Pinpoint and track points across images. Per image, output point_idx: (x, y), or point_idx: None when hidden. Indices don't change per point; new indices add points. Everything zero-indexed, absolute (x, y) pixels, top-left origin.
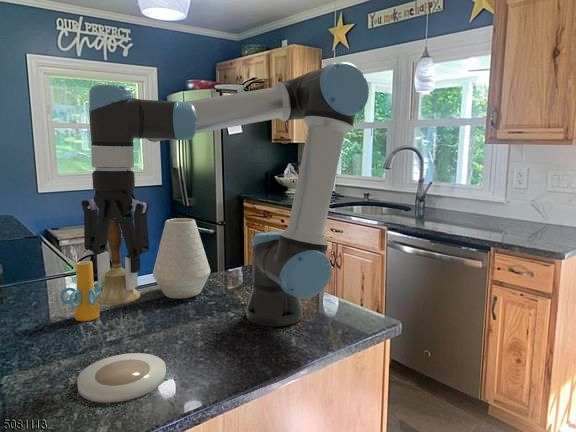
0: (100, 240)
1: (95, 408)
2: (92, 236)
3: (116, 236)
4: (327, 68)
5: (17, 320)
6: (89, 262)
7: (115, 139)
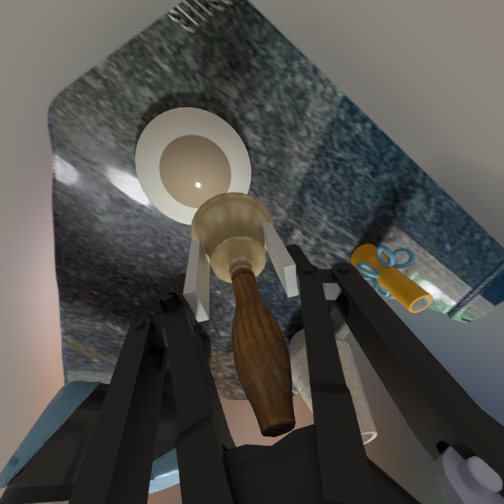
0: (302, 305)
1: (158, 96)
2: (351, 309)
3: (235, 344)
4: None
5: (438, 208)
6: (414, 309)
7: None
